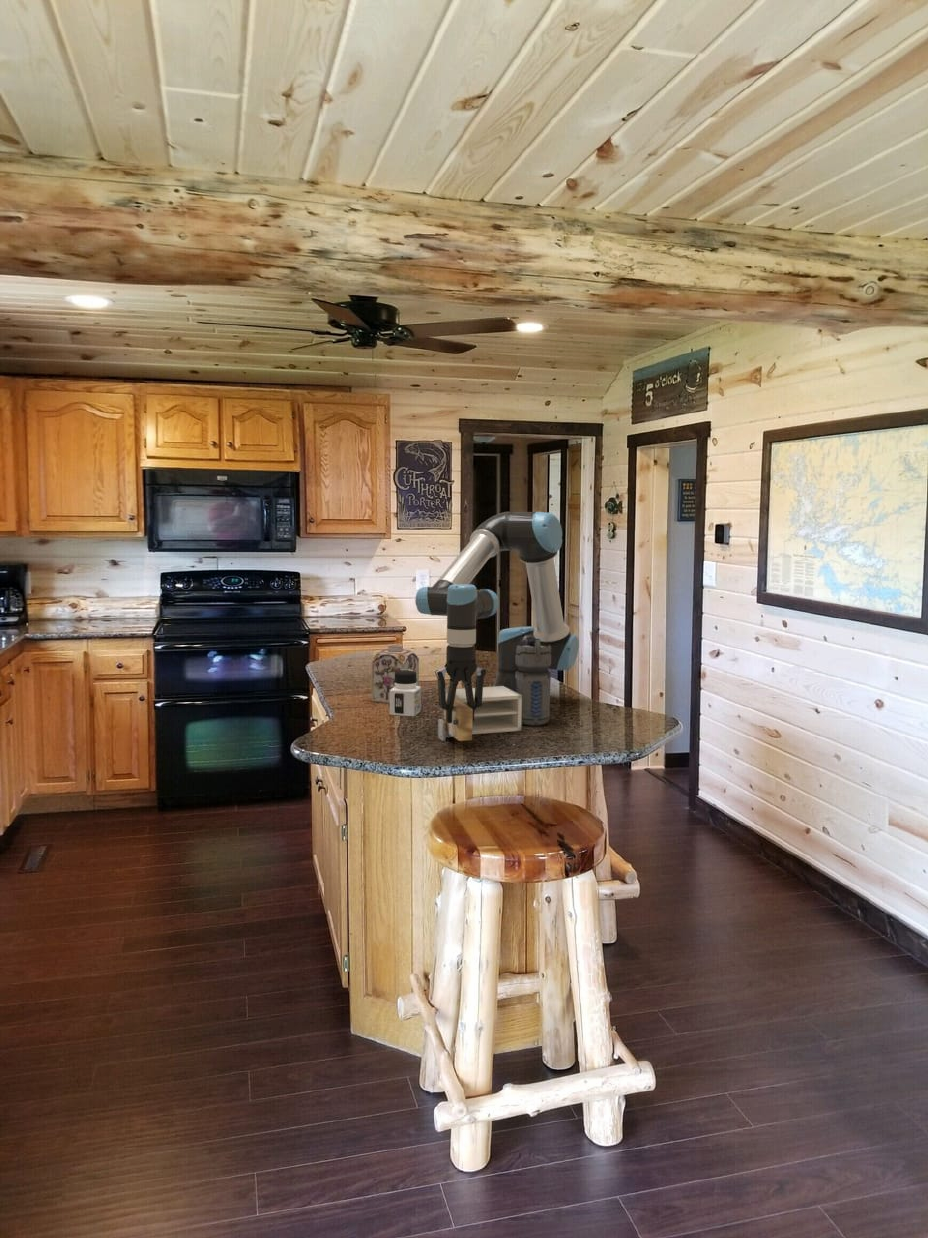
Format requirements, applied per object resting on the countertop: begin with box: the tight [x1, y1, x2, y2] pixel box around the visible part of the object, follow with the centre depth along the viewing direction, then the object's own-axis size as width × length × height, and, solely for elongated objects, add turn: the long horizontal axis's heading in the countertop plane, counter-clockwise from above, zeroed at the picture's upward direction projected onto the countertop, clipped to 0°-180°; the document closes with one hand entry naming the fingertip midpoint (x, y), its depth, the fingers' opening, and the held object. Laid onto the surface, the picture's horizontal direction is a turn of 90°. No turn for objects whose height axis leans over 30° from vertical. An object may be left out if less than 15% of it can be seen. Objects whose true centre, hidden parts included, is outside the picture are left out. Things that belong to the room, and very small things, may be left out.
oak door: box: [445, 700, 473, 742], centre depth 224 cm, size 4×12×8 cm, turn 19°
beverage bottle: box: [515, 636, 552, 727], centre depth 248 cm, size 10×13×25 cm
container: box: [389, 670, 422, 717], centre depth 258 cm, size 8×8×13 cm
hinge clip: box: [437, 718, 454, 742], centre depth 229 cm, size 6×4×5 cm, turn 109°
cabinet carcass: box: [443, 686, 522, 735], centre depth 242 cm, size 18×14×10 cm
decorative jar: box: [371, 643, 420, 704], centre depth 276 cm, size 12×12×18 cm
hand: (459, 734), depth 223 cm, fingers closed on oak door, 3 cm apart
